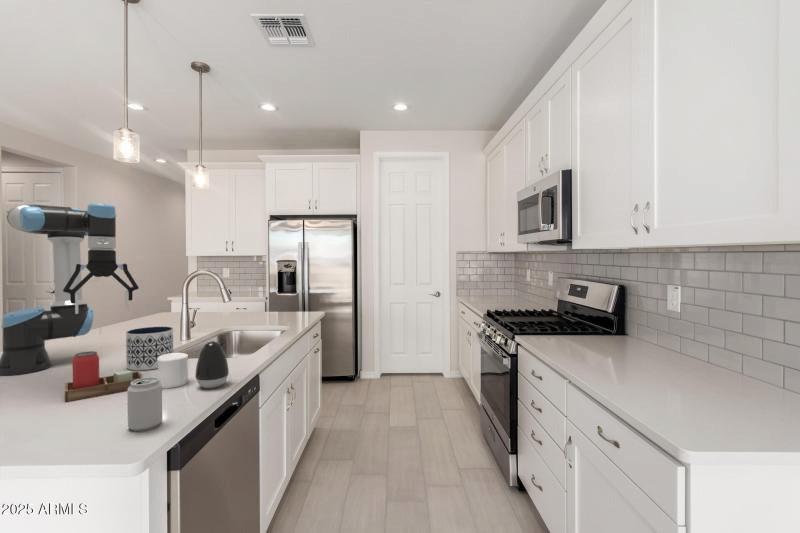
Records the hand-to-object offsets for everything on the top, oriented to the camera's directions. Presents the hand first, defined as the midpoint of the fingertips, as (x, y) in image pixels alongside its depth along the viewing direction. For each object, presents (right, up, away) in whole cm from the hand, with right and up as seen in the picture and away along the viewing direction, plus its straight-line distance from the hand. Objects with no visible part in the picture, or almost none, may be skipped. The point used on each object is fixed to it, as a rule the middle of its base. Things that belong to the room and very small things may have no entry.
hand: (102, 311), depth 131 cm
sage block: (+9, -24, -2) cm, 26 cm away
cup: (+23, -25, +1) cm, 34 cm away
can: (+36, -26, -32) cm, 55 cm away
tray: (+5, -25, -5) cm, 26 cm away
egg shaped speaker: (+38, -25, -1) cm, 46 cm away
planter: (+1, -25, +24) cm, 34 cm away
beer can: (+1, -25, -9) cm, 26 cm away
